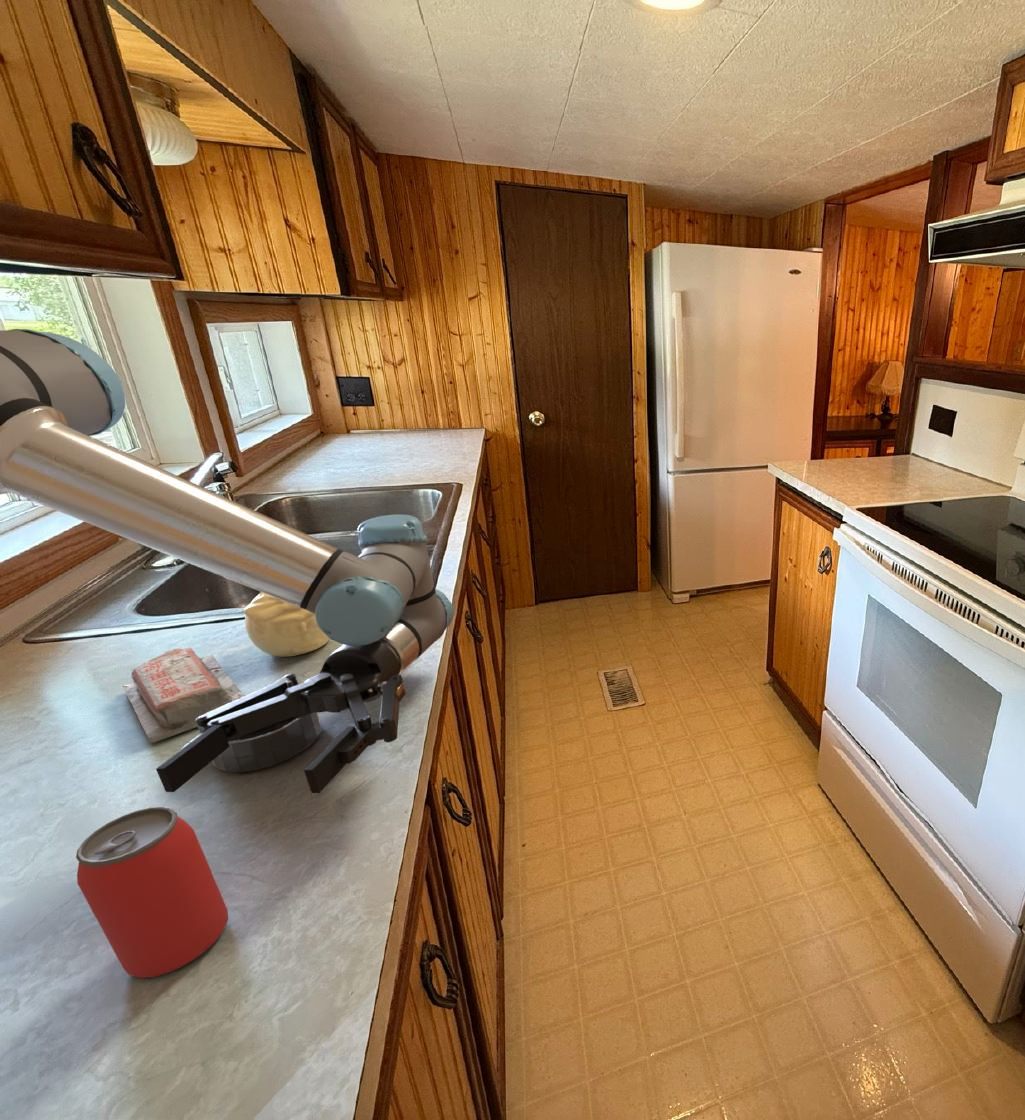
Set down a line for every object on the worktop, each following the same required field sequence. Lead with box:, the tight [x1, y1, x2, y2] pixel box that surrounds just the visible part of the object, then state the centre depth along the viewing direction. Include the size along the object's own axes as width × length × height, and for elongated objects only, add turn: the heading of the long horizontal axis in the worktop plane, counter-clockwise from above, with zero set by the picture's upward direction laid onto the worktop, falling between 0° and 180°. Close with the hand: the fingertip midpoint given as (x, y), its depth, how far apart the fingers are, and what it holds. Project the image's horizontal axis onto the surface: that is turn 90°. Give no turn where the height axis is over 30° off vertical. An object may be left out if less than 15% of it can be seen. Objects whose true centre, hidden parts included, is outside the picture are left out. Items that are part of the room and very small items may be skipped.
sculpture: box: [243, 591, 331, 658], centre depth 94 cm, size 11×12×11 cm
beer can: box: [75, 806, 229, 979], centre depth 48 cm, size 7×7×12 cm
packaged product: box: [122, 647, 245, 744], centre depth 81 cm, size 18×5×10 cm
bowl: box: [211, 693, 322, 773], centre depth 73 cm, size 11×11×4 cm
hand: (237, 781), depth 56 cm, fingers open, 13 cm apart
